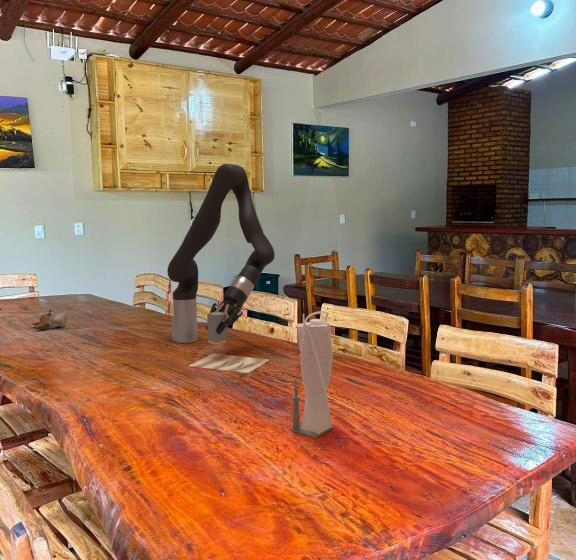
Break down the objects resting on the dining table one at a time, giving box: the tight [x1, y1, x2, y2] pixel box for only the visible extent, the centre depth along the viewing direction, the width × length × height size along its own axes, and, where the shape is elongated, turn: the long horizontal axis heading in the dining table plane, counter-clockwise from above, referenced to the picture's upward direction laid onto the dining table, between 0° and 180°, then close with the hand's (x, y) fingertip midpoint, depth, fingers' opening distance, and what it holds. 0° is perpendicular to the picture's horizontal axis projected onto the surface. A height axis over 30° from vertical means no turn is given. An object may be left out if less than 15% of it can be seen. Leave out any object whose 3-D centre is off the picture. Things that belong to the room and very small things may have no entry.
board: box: [188, 353, 270, 379], centre depth 179 cm, size 22×16×2 cm
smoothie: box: [295, 313, 305, 353], centre depth 198 cm, size 6×6×14 cm
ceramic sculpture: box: [31, 309, 68, 330], centre depth 242 cm, size 11×9×15 cm
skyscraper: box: [290, 310, 333, 439], centre depth 126 cm, size 8×8×28 cm
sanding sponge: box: [206, 312, 227, 345], centre depth 183 cm, size 4×4×10 cm
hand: (212, 331), depth 182 cm, fingers closed on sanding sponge, 4 cm apart
